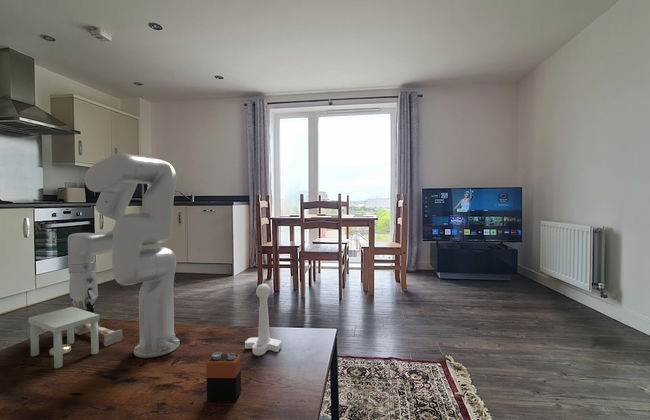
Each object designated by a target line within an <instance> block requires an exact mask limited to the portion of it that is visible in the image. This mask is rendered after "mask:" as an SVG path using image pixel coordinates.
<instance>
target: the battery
mask: <svg viewBox="0 0 650 420" xmlns="http://www.w3.org/2000/svg"><path fill="white" fill-rule="evenodd" d="M241 359H242V355H241V354H239V353H238V354H237V353H232V352H231V353H222V352H220V351H217V352H214V353H212V354H211V357H210V358H209V359H208V360H207V362H206V365H205V368H206V369H205V370H206V371H205V372H206V401H207V402H211V403H213V402H216V403H217V402H218V403H219V402H221V403H235V402H236V401H237V400H238V398H239V396H240V394H241V392H242V360H241Z"/></svg>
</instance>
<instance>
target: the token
mask: <svg viewBox="0 0 650 420" xmlns="http://www.w3.org/2000/svg"><path fill="white" fill-rule="evenodd" d="M71 351H72V344H67V343H66V344H62V354H63V355H65V354H67V353H69V352H71ZM49 356H51V357H54V346H53V347H51V348H50V349H49Z"/></svg>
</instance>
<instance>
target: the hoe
mask: <svg viewBox="0 0 650 420" xmlns="http://www.w3.org/2000/svg"><path fill="white" fill-rule="evenodd" d="M88 299H90V298H86V300H88ZM89 302H90V301H89ZM86 304H88V302H86ZM74 307H75V308H78V309H81V310H83V309H84V307H83V302H82V301H78V300H75V299H74ZM86 333H91V322H90V323H87V324H84V325H80V326H77V327H74V335H75V334H76V335H78V336H80V335H83V334H86ZM98 334H101V335H103V346H104V347H108V346H110V345H113V344H116V343H119V342H121V341H123V329H121V328H120V329H117V330H112V329H109V328H105V327H102V326H101V325H98Z"/></svg>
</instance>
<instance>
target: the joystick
mask: <svg viewBox="0 0 650 420" xmlns="http://www.w3.org/2000/svg"><path fill="white" fill-rule="evenodd" d="M255 290H256V291H255V293H256V296H257V297H258V299H259V306H258V333H257V334H258V335H257V337H249V338H247V339H246V340H245V341H244V348H245V349H247V350H248V349H252V354H253V355H255V356H262V355H264V354H266V352H267V351H272V352H275V353H276V352H277V353H278V352H279V351H280V350H282V349H283V343H282V342H283V341H282V340H281V339H276V338H271V334H270V321H269V320H270V319H269V318H270V317H269V306H268V298H269V296H270V295H271V291H272V289H271V286H270V285H269V284H267V283H261V284H258V286H257V287H256V289H255Z"/></svg>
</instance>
